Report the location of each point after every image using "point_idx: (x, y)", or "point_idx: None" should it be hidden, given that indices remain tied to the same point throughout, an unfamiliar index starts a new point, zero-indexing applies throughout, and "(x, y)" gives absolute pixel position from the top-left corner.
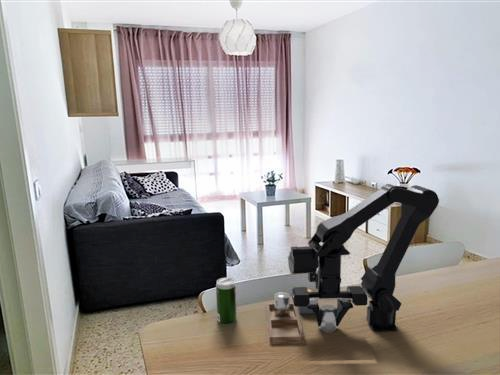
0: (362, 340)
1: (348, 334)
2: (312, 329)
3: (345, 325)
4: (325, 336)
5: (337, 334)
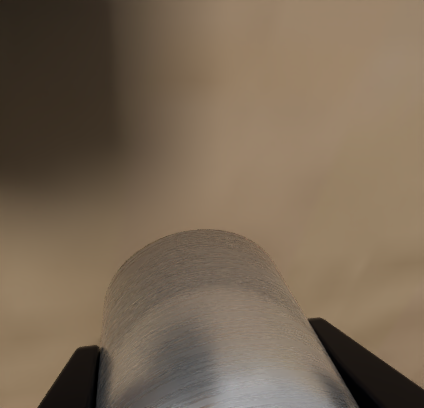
0: None
1: None
2: (19, 312)
3: (402, 222)
4: None
5: None
